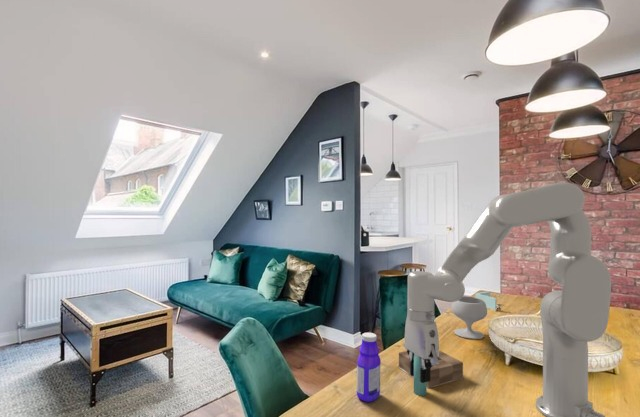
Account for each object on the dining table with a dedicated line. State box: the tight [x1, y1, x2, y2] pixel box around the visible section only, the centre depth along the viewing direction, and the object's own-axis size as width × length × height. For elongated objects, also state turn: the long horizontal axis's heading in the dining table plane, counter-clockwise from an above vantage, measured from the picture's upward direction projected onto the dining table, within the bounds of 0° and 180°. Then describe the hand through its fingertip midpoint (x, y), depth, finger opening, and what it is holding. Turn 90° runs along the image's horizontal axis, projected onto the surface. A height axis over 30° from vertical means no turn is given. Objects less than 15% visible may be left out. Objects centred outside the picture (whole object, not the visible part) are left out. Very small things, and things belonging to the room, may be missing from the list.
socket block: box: [397, 349, 465, 389], centre depth 109 cm, size 14×14×5 cm
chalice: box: [451, 295, 488, 340], centre depth 143 cm, size 14×14×15 cm
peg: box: [413, 353, 428, 397], centre depth 97 cm, size 4×4×12 cm
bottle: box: [356, 332, 382, 403], centre depth 94 cm, size 7×6×17 cm
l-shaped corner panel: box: [474, 291, 500, 311], centre depth 186 cm, size 12×12×8 cm
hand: (420, 377), depth 97 cm, fingers closed on peg, 3 cm apart
